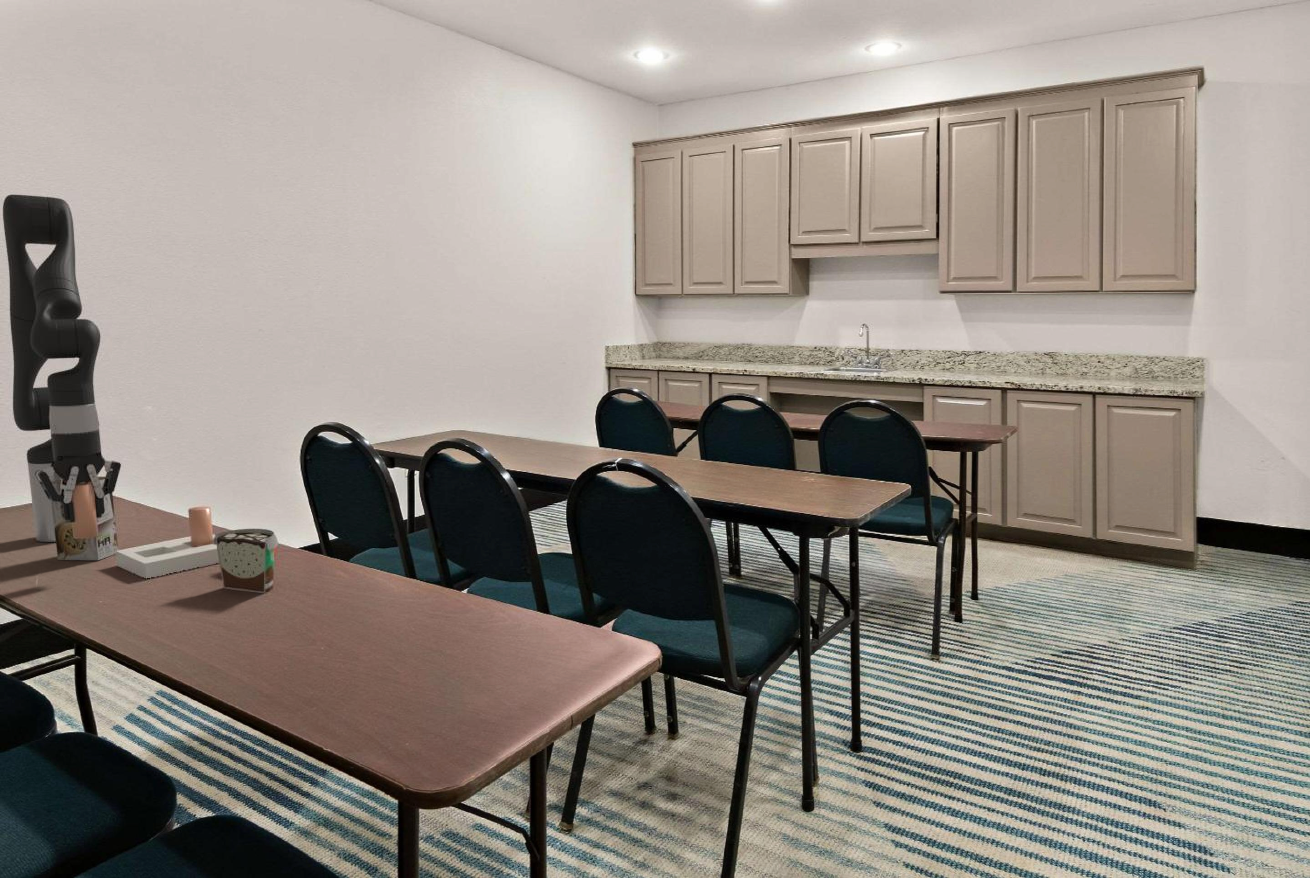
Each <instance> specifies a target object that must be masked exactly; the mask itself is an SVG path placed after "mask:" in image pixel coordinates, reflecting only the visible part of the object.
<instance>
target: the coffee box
mask: <svg viewBox="0 0 1310 878" xmlns="http://www.w3.org/2000/svg"><path fill="white" fill-rule="evenodd" d="M105 477H106V476H98V478H99V481H100V483H101V488H102V487H103V484H104V481H105ZM61 480H62V479H60V480H57V481H54V482H52V484H53V486H54V488H55V490H56V492H57V493H58V494H60V490H61V488H60V485H61ZM51 507H52V515H53V523H54V531H55V539H56V541H55V546H56V555H57V560H58V561H101V560H102V559H106V558H108V557H111V556H114V555H116V551H118V550H119V545H118V543H119V542H118V536H117V525H116V514H115V504H114V496H113V493H109V494H107V495H105V496H104V508H105V512H104V514H102V517H101V518H97V524H98V536H96V537H92V538H87V539H74V538H73V530H72V523H69V522H67V521H66V520H65V519H63V517H62V511H61V503H60V502H54V501H52V500H51Z"/></svg>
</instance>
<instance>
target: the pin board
mask: <svg viewBox="0 0 1310 878" xmlns="http://www.w3.org/2000/svg"><path fill="white" fill-rule="evenodd" d="M211 508H212V507H211V506H195V507H191V508H188V510H187V512H188V522H189V523H188V524H189V536H185V537H181V538H175V539H170V540H169V539H168V540H165V541H164V540H163V541H159V542H154V543H150V544H145V545H140V546H139V545H138V546H134V547H129V548H124V549H123V548H122V549H118V551H116V554H115V559H116V560H115V561H116V567H119V568H122V569H123V570H126V571H128V572H129V573H132V574H134V573H135V574H134V575H137V576H139V577H141V578H143V577H144V578H143V579H145V578H146V580H148V579H147V578H150V579H152V578H151V577H154V578H157V576H159V577H161V576H162V575H163V576H167V575H166V574H168V575H170V574H169V573H172V574H174V573H173V572H177V573H180V571H181V572H184V571H183V570H185V571H188V570H189V569H190V570H194V569H197V567H199V568H203V567H208V566H211V565H215V564H216V563H217V564H219V557H218V551H217V545H214V537H215V533H213V524H212V523H213V522H212V511H211V510H212V509H211ZM193 568H194V569H193ZM190 570H189V571H190Z"/></svg>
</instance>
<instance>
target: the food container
mask: <svg viewBox="0 0 1310 878" xmlns="http://www.w3.org/2000/svg"><path fill="white" fill-rule="evenodd" d="M214 535H215V537H214V545H217V551H218V557H219V563H218V564H219V569H220V575H221V580H222V581H221V582H222V587H223V589H228V590H235V591H242V592H243V591H244V592H250V593H251V592H252V593H258V594H266V593H269V592H270V591H272V590H273V589H274V572H275V571H274V569H275V567H274V566H275V557H274V548H275V547H278V545H279V542H278V538H277V535H276V534H275V531H273V530H271V529H267V528H266V529H265V528H242V529H241V528H240V529H232V530H226V531H221V532H218V533H214Z"/></svg>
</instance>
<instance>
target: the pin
mask: <svg viewBox="0 0 1310 878" xmlns="http://www.w3.org/2000/svg"><path fill="white" fill-rule="evenodd" d="M71 502H72V503H73V511H74V522H72V530H73V538H74V539H87V538H92V537H96V536H98V524H97V514H96V504H95V493H94V488H93V484H92V483H91V482H88V483H86V482H81V483H79V484H75V488H74V491H73V493H72V498H71Z"/></svg>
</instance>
